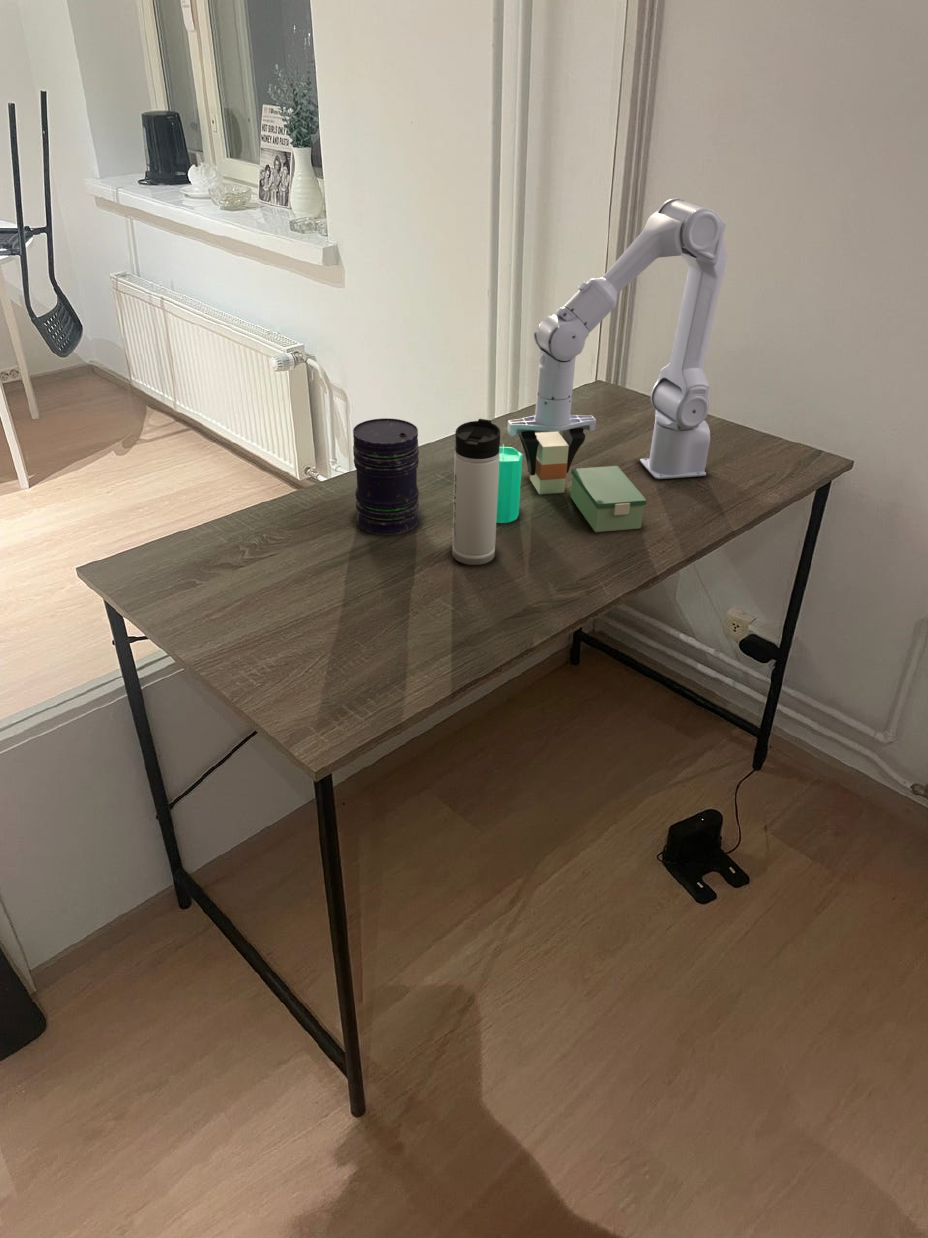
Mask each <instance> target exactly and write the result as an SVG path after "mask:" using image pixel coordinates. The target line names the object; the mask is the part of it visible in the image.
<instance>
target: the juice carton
mask: <svg viewBox="0 0 928 1238" xmlns="http://www.w3.org/2000/svg"><path fill="white" fill-rule="evenodd" d="M535 435H537V440H538V441H539V445H538V450H537V455H536V471H535V475H530V474H529V480H530V482H531V483H532V485H533V487H534V488H535V490H536V492H537V493H538V495H548V494H549V495H551V494H564V493H565V490H566V479H567V474H568V473H567V459H568V448H569V445H568V444H567V443H566V441H565V440H564V439H563V435H561V434H560V431H557V432H539V433H535Z"/></svg>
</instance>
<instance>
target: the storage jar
mask: <svg viewBox="0 0 928 1238" xmlns="http://www.w3.org/2000/svg"><path fill="white" fill-rule="evenodd" d="M352 434H353V435H352V437H353V446H352V452H353V453H352V454H353V465H354V468H355V469H356V471H355V472H356V487H355V492H354V496H355V509H356V514H357V516H356V522H357V523H356V524H357V525H358V526H359V527H360V528H361V529H362V530H364V531H365V532H368V533H372V534H375V535H384V536H385V535H386V536H389V535H400V534H403V533H406V532H409V531H411V530H413V529H414V528H415V527H416V526H417V525H418V524H419V509H420V508H419V507H420V497H419V496H420V491H419V490H420V489H419V486H418V485H417V484H418V483H417V482H418V474H417V471H418V470H417V469H418V468H419V462H420V458H419V455H420V446H419V439H418V437H419V430H418V427H417V426H416V425H415V424H413V423H412V422H410V421H406V420H403V419H399V418H388V417H387V418H383V417H382V418H375V419H368V420H364V421H362V422H360V423H358V424H356V425H355V426H354V427H353V429H352Z"/></svg>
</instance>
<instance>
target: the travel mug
mask: <svg viewBox="0 0 928 1238" xmlns="http://www.w3.org/2000/svg"><path fill="white" fill-rule="evenodd" d="M500 447H501V429H500V428H499V426H498V425H496V424H495V423H493V422H492V420H490V419H486V418H479V419H477V420H472V421H468V422H464V423H462V424H460V425H458V427H457V428H456V429H455V439H454V461H453V463H454V464H453V465H454V466H453V467H454V468H453V508H452V509H453V511H452V513H453V514H452V557H453V559H455V560H456V561H457V562H458V563H461V564H463V565H468V566H481V565H485V564H487V563H490V562H491V561H492V560H493V559H494V558H495V555H496V537H497V534H496V533H497V523H496V518H497V498H498V478H499V458H500V456H499V455H500Z"/></svg>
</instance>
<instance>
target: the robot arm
mask: <svg viewBox="0 0 928 1238" xmlns="http://www.w3.org/2000/svg"><path fill="white" fill-rule="evenodd" d="M725 229H726V223H725V222H724V220H723V219H722V218H721V217H720V216H719V214H718V213H717V212H716V211H714V210H713V209H712V208H708V207H702V206H700V205H696V204H693V203H690V202H688V201H685V200H684V199H681V198H677V197H676V198H675V197H674V198H670V199H668V200H666V201H664V202H663V203H662V204H661V205H660V206H659V208H658V209H657V211H655V212H654V213H652V214H651V215H650V216H649V217H648V219H647V221H646V223H645V226H644V228H643V230H642V231H641V232H640V234H638V236H637V237H636V238H635V239H634V240H633V241H632V243H630V245H629V246H628V247H627V248H626V249H625V250H624V251H623V253H622V254H621V255H620V257H618V259H616V261H615V262H614V263H613V264H612V265H611V267H610V268H609V269H608V270H607V271H606V273H604V274H603V276H602V277H595V278H594V277H592V278H589V279H588V280H587V281H582V282H581V283H580V284H579V285H578V287H577V288H578V291H577V292H575V293H574V294H573V296H571V298H570V299H569V300H568V301H567V302H566V303H565V304H564V305H563V306H562V307H561V306H560V307H558V309H556V311H555V312H556V314H552V315H548V316H546V317H545V318H544V319H542V320H541V322H540V323H539V325H538V327H537V330H536V331H535V332H534V333H533V339H534V342H535V344H536V345H537V347H538V349H539V358H538V369H537V383H536V384H537V385H536V398H535V411H534V412H535V413H534V415H530V416H525V417H522V418H517V419H509V420H507V430H506V431H507V433H508V435H509V437H513V436H514V437H515V436H517V435H518V437H519V439H520V442H521V445H522V448H523V451H524V455H525V459H526V466H527V472H528V475H529V476H530V475H535V471H536V455H537V450H538V445H539V441H538V440H537V435H535V433H543V432H562V437H563V439H564V440H565V441H566V443H567V444H568V445H569V448H568V459H567V473H566V474H569V471H570V468H571V466H572V463H573V460H574V458H575V456H576V455H577V453H578V450H579V449H580V447H581V446H582V445H583V444H584V442H585V440H586V434H585V433H584V431H586V430H587V431H588V432H594V431H596V424H597V419H596V417H594V416H593V415H580V414H579V415H578V414H571V413H572V412H571V411H572V402H573V390H574V380H575V371H576V370H575V368H576V358H577V356H578V355H580V354H581V353H582V352H583V350H584V347H585V344H586V340H587V338H588V337H589V334H590V333H591V332H592V331H593V330H595V328H596V327H597V326H598V325H599V324H600V323H601V322H602V321H603V320H604V319H605V318H606V317H607V316H608V315H610V313H611V312H612V311H613V310H614V309H615V308H616V306H617V301H618V294H619V293H620V292H621V291H622V290H623V289H625V288H626V287H627V286H628V285H629V284H631V282H633V280H635V279H636V278H637V277H638V276H639V275H640V274H641V273H643V272H644V271H645V270H646V269H647V268H648V267H649V266H651V265H652V264H653V262H655V261H656V260H657V259H660V258H668V257H669V258H670V257H680V256H681V257H682V259H683V260H684V261H685V262H686V264H687V266H688V270H687V274H686V281H685V284H684V290H683V294H682V295H683V296H682V301H681V304H680V310H679V315H678V321H677V325H676V331H675V334H674V340H673V344H672V350H671V354H670V355H671V356H670V360H669V363H667V364H666V365H665V366H664V367H663V368H661V369H660V370H659V376H658V378H657V380H656V382H655V384H654V386H653V387H652V389H651V392H650V403H651V405H652V407H653V408H654V409H655V411H654V416H655V417H654V419H655V420H654V426H653V430H652V431H653V432H652V439H651V445H650V453H649V458H647V457H646V458H640V460H639V462H640V463H641V464H642V465H643V466H644V468H645V469H646V470H647V471H648V472H649V474H651V475H652V477H654V479H656V480H668V479H680V478H681V479H682V478H695V477H706V476H707V472H705V470H706V466H707V465H706V464H707V461H708V460H707V459H708V454H709V449H710V444H711V430H710V427H709V425H708V422H707V421H706V418H707V416H708V415H709V411H710V401H709V390H710V384H709V382H708V378H707V377H706V374H705V372H704V366H705V365H704V364H705V359H706V355H707V350H708V346H709V342H710V338H711V332H712V328H713V325H714V324H713V323H714V319H715V316H716V315H715V314H716V311H717V306H718V301H719V297H720V293H721V289H722V287H721V286H722V282H723V278H724V273H725V268H726V265H727V258H728V255H727V254H728V253H727V248H726V243H725V238H724V235H725Z"/></svg>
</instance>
